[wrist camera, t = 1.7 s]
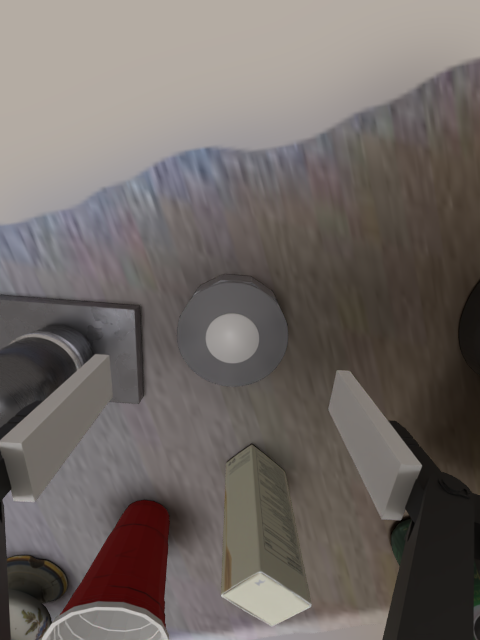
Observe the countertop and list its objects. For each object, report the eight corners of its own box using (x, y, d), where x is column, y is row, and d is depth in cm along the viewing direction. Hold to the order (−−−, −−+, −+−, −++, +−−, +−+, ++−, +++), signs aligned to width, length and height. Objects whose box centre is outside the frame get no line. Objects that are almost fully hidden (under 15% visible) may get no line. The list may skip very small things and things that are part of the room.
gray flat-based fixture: (140, 305, 26) (76, 354, 16) (143, 395, 29) (93, 482, 19) (-10, 294, 26) (-169, 336, 16) (11, 386, 29) (-110, 469, 19)
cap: (287, 278, 25) (296, 288, 21) (275, 368, 28) (281, 391, 24) (186, 271, 25) (176, 279, 21) (185, 361, 28) (176, 384, 24)
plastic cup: (205, 531, 36) (188, 672, 24) (134, 552, 37) (87, 695, 26) (165, 472, 33) (125, 603, 21) (89, 498, 34) (13, 634, 23)
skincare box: (224, 462, 32) (215, 595, 20) (252, 441, 31) (258, 569, 19) (261, 491, 33) (271, 631, 22) (288, 473, 32) (314, 609, 21)
